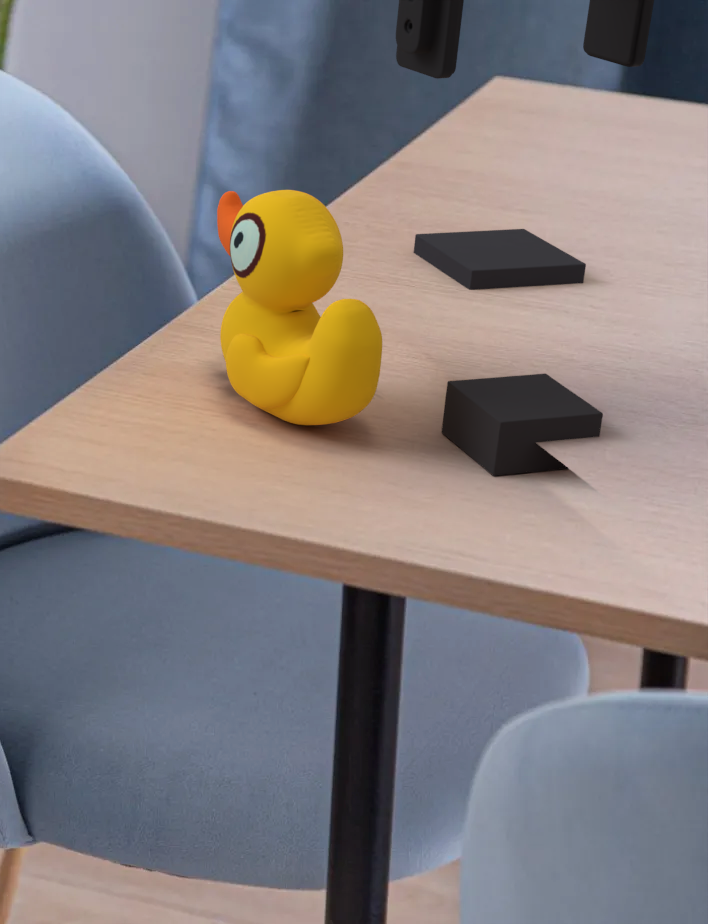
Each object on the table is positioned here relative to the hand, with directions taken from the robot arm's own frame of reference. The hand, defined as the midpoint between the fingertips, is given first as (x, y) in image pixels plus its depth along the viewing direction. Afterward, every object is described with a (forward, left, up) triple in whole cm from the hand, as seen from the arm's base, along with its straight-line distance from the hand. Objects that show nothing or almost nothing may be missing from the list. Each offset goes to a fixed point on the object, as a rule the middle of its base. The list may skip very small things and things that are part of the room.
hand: (520, 65), depth 72 cm
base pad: (-11, -19, -16) cm, 28 cm away
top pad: (-1, +2, -16) cm, 17 cm away
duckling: (+7, -5, -17) cm, 19 cm away
